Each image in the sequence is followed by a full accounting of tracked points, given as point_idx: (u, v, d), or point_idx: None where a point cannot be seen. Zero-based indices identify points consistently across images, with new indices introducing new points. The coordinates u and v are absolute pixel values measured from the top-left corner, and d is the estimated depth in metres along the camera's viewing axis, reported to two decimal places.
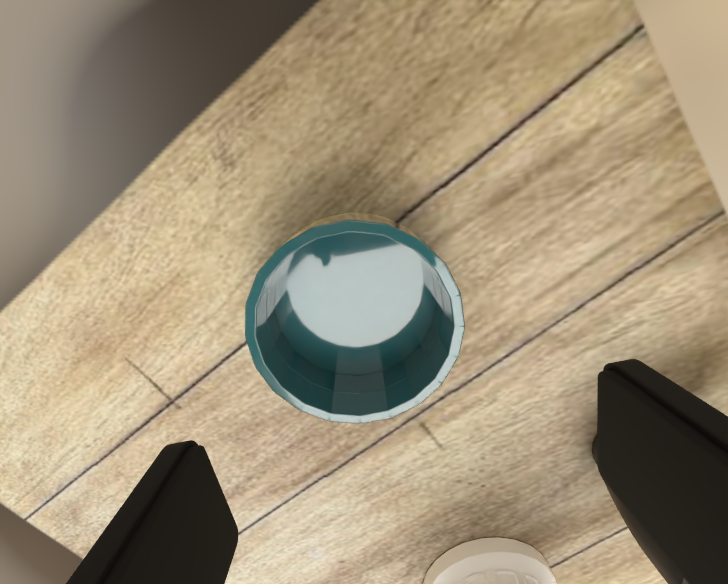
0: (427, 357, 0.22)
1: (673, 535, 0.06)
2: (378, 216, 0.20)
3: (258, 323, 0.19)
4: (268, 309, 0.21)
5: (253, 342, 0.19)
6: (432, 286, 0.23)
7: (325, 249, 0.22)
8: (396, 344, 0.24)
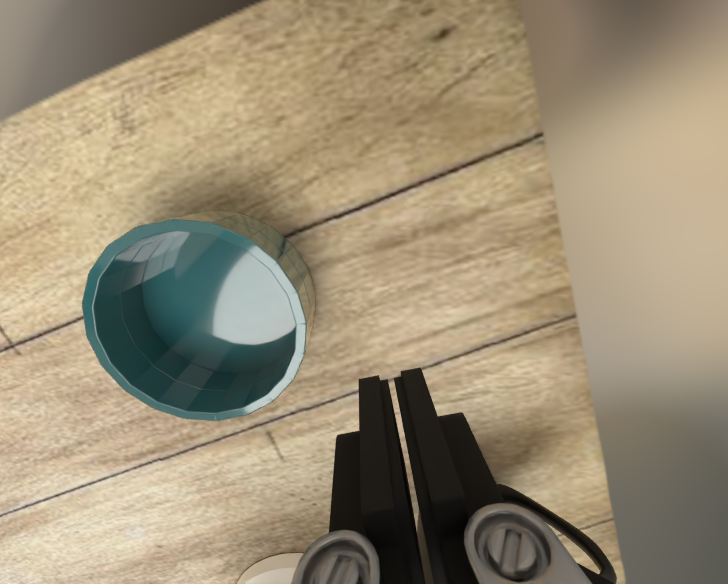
0: (275, 372, 0.22)
1: None
2: (261, 226, 0.21)
3: (100, 294, 0.18)
4: (127, 283, 0.21)
5: (89, 312, 0.18)
6: None
7: (206, 241, 0.22)
8: (257, 351, 0.24)
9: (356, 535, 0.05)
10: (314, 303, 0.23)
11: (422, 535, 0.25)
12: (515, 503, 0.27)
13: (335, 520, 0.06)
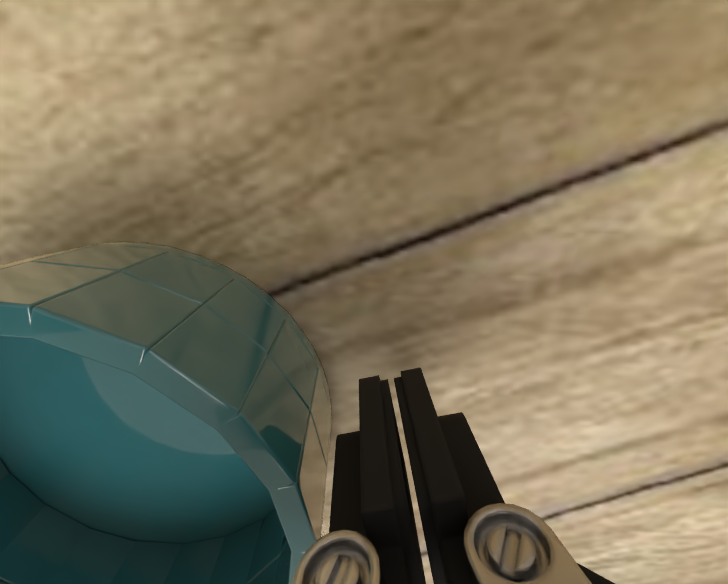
0: (248, 580, 0.11)
1: None
2: (216, 283, 0.09)
3: None
4: None
5: None
6: None
7: None
8: (217, 508, 0.12)
9: (356, 535, 0.05)
10: None
11: None
12: None
13: (335, 520, 0.06)
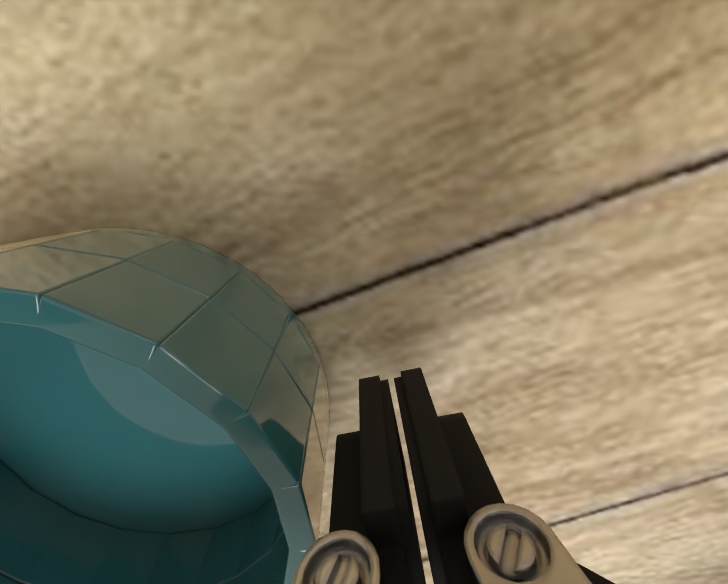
0: (238, 573, 0.11)
1: None
2: (222, 276, 0.09)
3: None
4: None
5: None
6: None
7: None
8: (208, 500, 0.12)
9: (356, 535, 0.05)
10: None
11: None
12: None
13: (335, 520, 0.06)
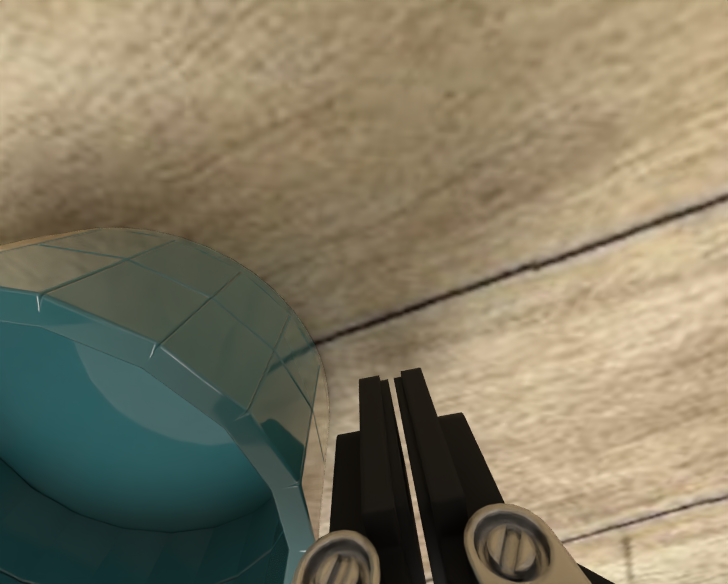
0: (237, 573, 0.11)
1: None
2: (223, 276, 0.09)
3: None
4: None
5: None
6: None
7: None
8: (208, 500, 0.12)
9: (356, 535, 0.05)
10: None
11: None
12: None
13: (335, 520, 0.06)
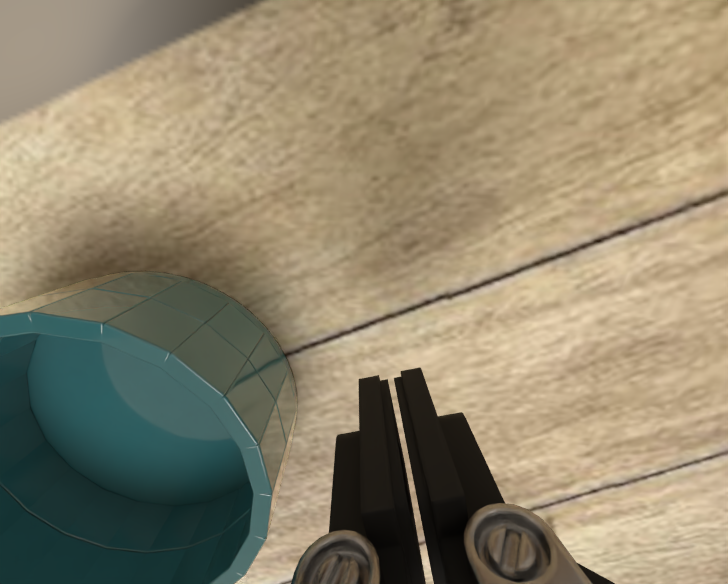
0: (224, 530, 0.14)
1: None
2: (215, 307, 0.13)
3: None
4: None
5: None
6: None
7: None
8: (204, 478, 0.16)
9: (356, 535, 0.05)
10: (294, 418, 0.15)
11: None
12: None
13: (335, 520, 0.06)
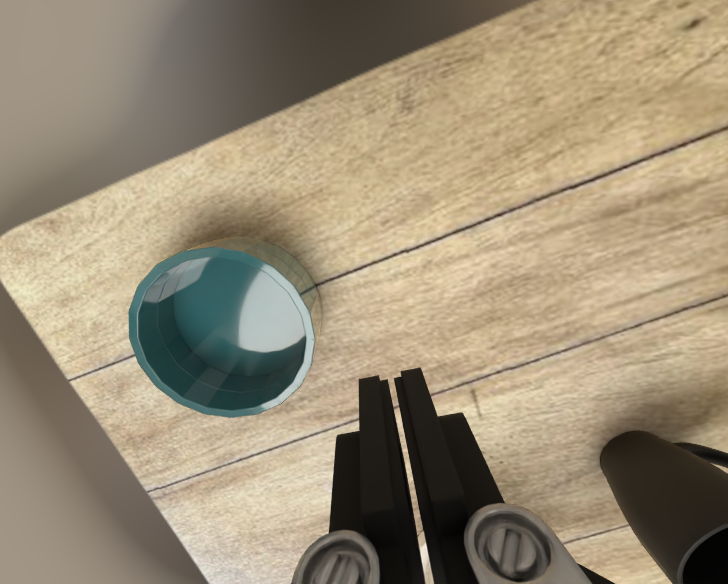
0: (283, 378, 0.26)
1: None
2: (281, 253, 0.24)
3: (144, 304, 0.22)
4: (163, 294, 0.24)
5: (134, 318, 0.22)
6: None
7: (233, 262, 0.25)
8: (268, 359, 0.28)
9: (356, 535, 0.05)
10: (321, 321, 0.26)
11: (633, 482, 0.27)
12: (706, 458, 0.29)
13: (335, 520, 0.06)
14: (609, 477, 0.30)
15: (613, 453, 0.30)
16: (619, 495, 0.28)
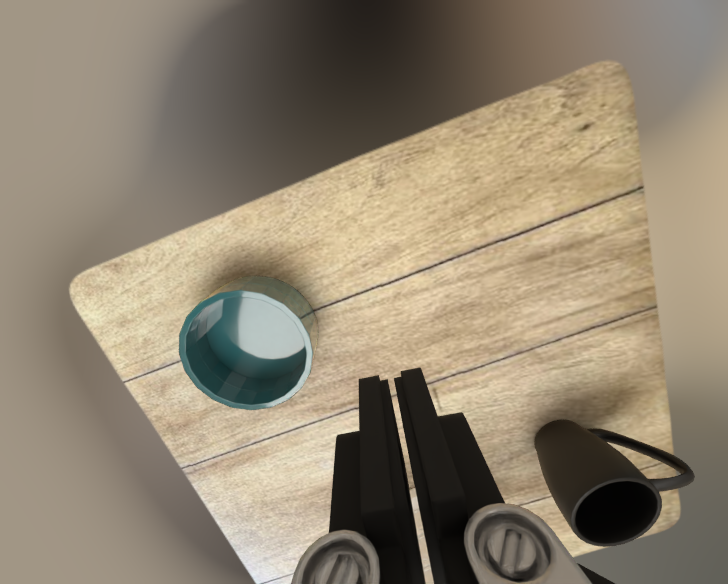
0: (289, 381, 0.34)
1: None
2: (288, 289, 0.33)
3: (190, 329, 0.30)
4: (201, 319, 0.33)
5: (183, 339, 0.30)
6: None
7: None
8: (277, 366, 0.36)
9: (356, 535, 0.05)
10: (317, 337, 0.35)
11: (551, 457, 0.36)
12: (610, 440, 0.38)
13: (335, 520, 0.06)
14: (538, 455, 0.39)
15: (542, 436, 0.39)
16: (543, 467, 0.37)
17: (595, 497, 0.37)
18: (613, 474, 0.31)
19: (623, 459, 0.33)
